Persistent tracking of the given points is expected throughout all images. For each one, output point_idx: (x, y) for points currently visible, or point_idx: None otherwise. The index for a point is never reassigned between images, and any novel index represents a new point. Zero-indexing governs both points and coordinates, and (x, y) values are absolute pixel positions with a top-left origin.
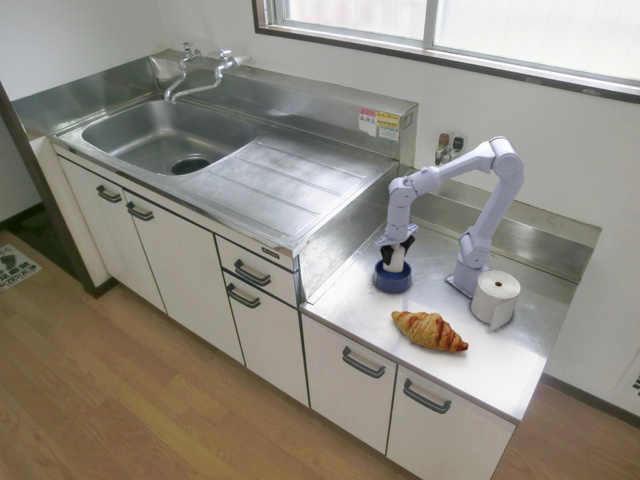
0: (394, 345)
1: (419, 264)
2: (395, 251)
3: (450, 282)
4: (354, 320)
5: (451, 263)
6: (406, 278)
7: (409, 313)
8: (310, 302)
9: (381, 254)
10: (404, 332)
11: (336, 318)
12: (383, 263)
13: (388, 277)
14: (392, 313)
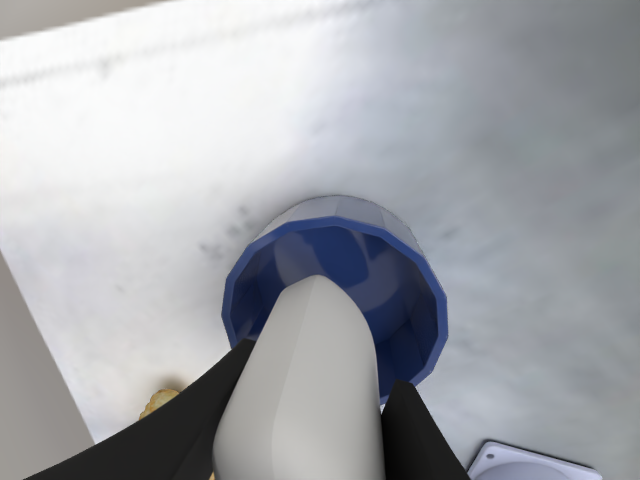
0: (109, 423)
1: (534, 317)
2: None
3: (479, 461)
4: (63, 287)
5: (623, 418)
6: None
7: None
8: None
9: (191, 384)
10: None
11: (9, 230)
12: (274, 308)
13: (336, 264)
14: (151, 404)
